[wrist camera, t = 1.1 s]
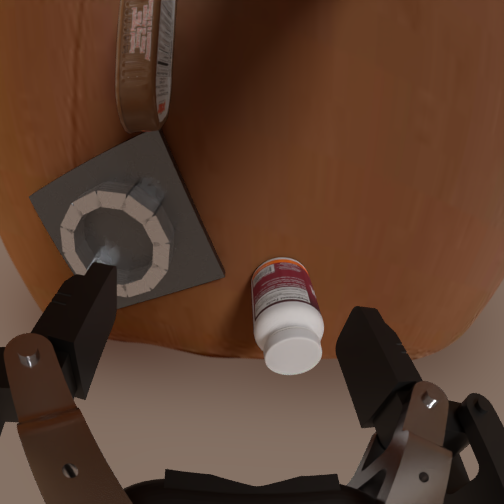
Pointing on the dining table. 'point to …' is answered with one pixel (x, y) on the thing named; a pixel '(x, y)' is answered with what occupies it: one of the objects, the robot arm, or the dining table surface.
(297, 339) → the pill bottle
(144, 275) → the collar
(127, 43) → the tin
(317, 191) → the dining table surface
